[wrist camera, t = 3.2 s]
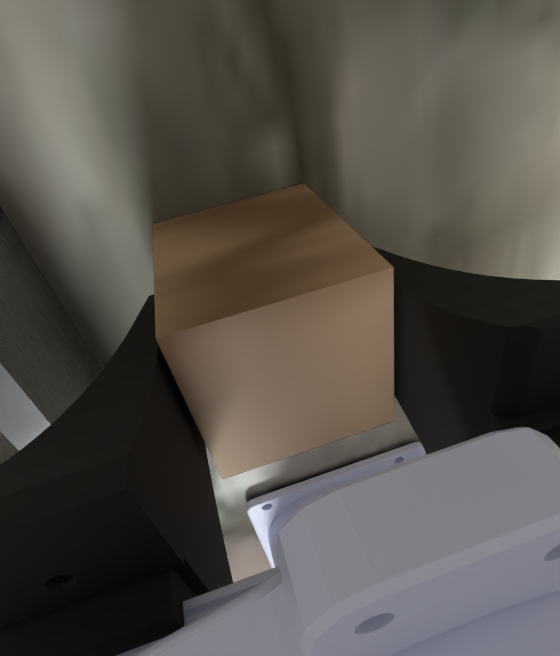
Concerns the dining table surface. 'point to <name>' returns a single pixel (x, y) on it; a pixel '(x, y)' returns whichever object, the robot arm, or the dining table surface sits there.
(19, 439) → the dock
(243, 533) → the dining table surface
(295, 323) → the walnut block
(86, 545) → the robot arm
